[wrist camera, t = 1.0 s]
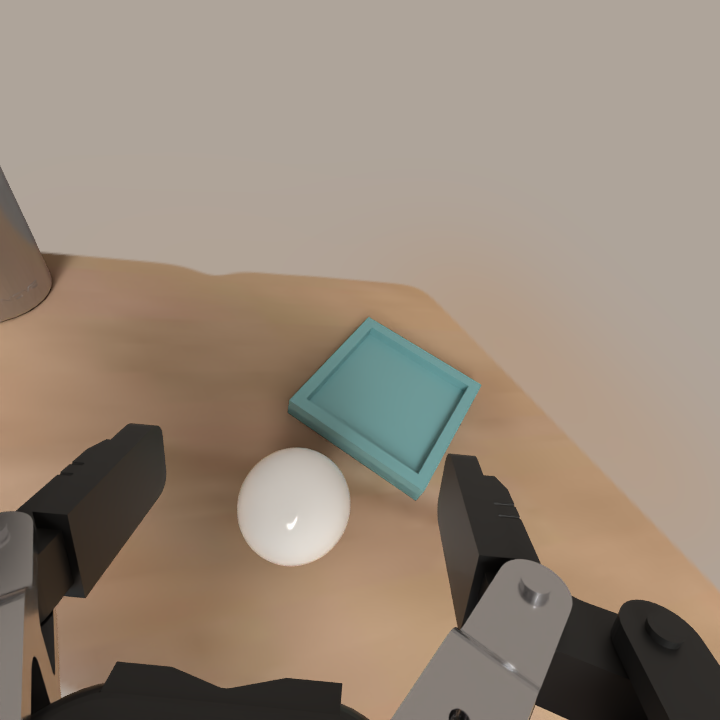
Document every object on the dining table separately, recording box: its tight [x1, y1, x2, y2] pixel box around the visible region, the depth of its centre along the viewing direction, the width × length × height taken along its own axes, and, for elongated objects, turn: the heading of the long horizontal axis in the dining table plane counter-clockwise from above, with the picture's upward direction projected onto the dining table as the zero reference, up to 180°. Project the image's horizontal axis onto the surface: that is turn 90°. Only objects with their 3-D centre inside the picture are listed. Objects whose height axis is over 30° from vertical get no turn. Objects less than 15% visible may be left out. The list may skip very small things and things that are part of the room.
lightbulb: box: [237, 447, 351, 566], centre depth 26 cm, size 6×6×11 cm
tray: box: [288, 317, 481, 500], centre depth 38 cm, size 13×13×2 cm
